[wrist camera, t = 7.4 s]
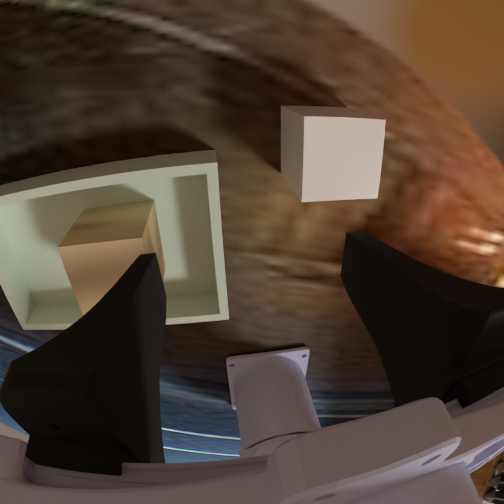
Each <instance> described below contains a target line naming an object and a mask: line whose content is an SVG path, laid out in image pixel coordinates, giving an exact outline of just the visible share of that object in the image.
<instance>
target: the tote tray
mask: <svg viewBox="0 0 504 504" xmlns="http://www.w3.org/2000/svg"><path fill="white" fill-rule="evenodd" d="M151 200H154V201H155V208H156V214H157V220H158V226H159V232H160V237H161V243H162V248H163V254H164V259H165V264H166V267H165V274H164V281H163V284H164V289H165V293H166V325H170V324H183V323H195V322H206V321H217V320H227V319H229V312H228V301H227V289H226V277H225V265H224V253H223V240H222V226H221V212H220V198H219V182H218V166H217V158H216V151H215V150H206V151H195V152H185V153H175V154H166V155H158V156H150V157H142V158H135V159H128V160H121V161H115V162H108V163H102V164H96V165H91V166H85V167H79V168H74V169H69V170H64V171H59V172H54V173H49V174H45V175H40V176H36V177H32V178H27V179H23V180H19V181H15V182H11V183H7V184H3V185H0V285H1V287H2V289H3V291H4V293H5V295H6V297H7V300H8V302H9V303H10V305H11V307H12V309H13V311H14V313H15V315H16V317H17V319H18V321H19V322H20V324H21V326H22V328H23V330H60V329H67V328H68V327H70V326H71V325H72V324H73V323H75V322H76V321H77V320H79V319H80V318H81V317H82V316H83V313H82V311H81V308H80V306H79V304H78V301H77V299H76V296H75V294H74V291H73V289H72V286H71V284H70V281H69V278H68V276H67V273H66V270H65V268H64V265H63V262H62V259H61V256H60V253H59V250H58V246H59V244H60V243H61V241H62V240H63V238H64V237H65V235H66V234H67V232H68V231H69V230H70V228H71V227H72V225H73V224H74V222H75V221H76V220H77V218H78V217H79V215H80V214H81V213H82V211H83V210H84V209H89V208H96V207H103V206H110V205H118V204H126V203H134V202H142V201H151Z"/></svg>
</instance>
